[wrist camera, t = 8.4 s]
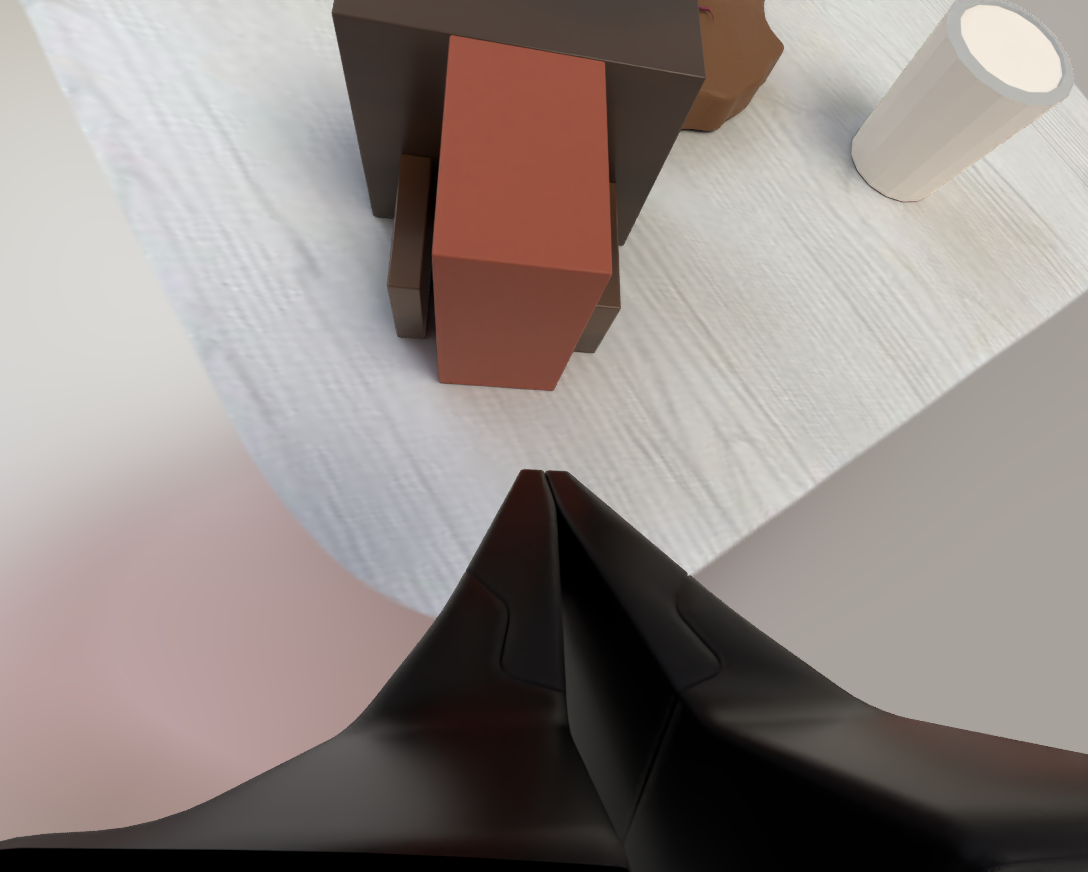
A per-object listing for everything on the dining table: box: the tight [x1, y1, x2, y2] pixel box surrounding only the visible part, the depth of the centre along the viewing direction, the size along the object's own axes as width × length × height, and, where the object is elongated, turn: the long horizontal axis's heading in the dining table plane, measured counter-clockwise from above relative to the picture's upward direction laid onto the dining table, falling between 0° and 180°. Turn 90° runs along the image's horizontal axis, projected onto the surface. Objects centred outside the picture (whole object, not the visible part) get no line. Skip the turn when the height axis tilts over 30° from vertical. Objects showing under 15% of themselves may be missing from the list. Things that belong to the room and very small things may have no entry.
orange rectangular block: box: [432, 35, 612, 391], centre depth 20 cm, size 8×5×9 cm, turn 0°
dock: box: [332, 0, 706, 353], centre depth 21 cm, size 10×12×9 cm
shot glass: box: [851, 0, 1075, 202], centre depth 28 cm, size 7×7×7 cm
